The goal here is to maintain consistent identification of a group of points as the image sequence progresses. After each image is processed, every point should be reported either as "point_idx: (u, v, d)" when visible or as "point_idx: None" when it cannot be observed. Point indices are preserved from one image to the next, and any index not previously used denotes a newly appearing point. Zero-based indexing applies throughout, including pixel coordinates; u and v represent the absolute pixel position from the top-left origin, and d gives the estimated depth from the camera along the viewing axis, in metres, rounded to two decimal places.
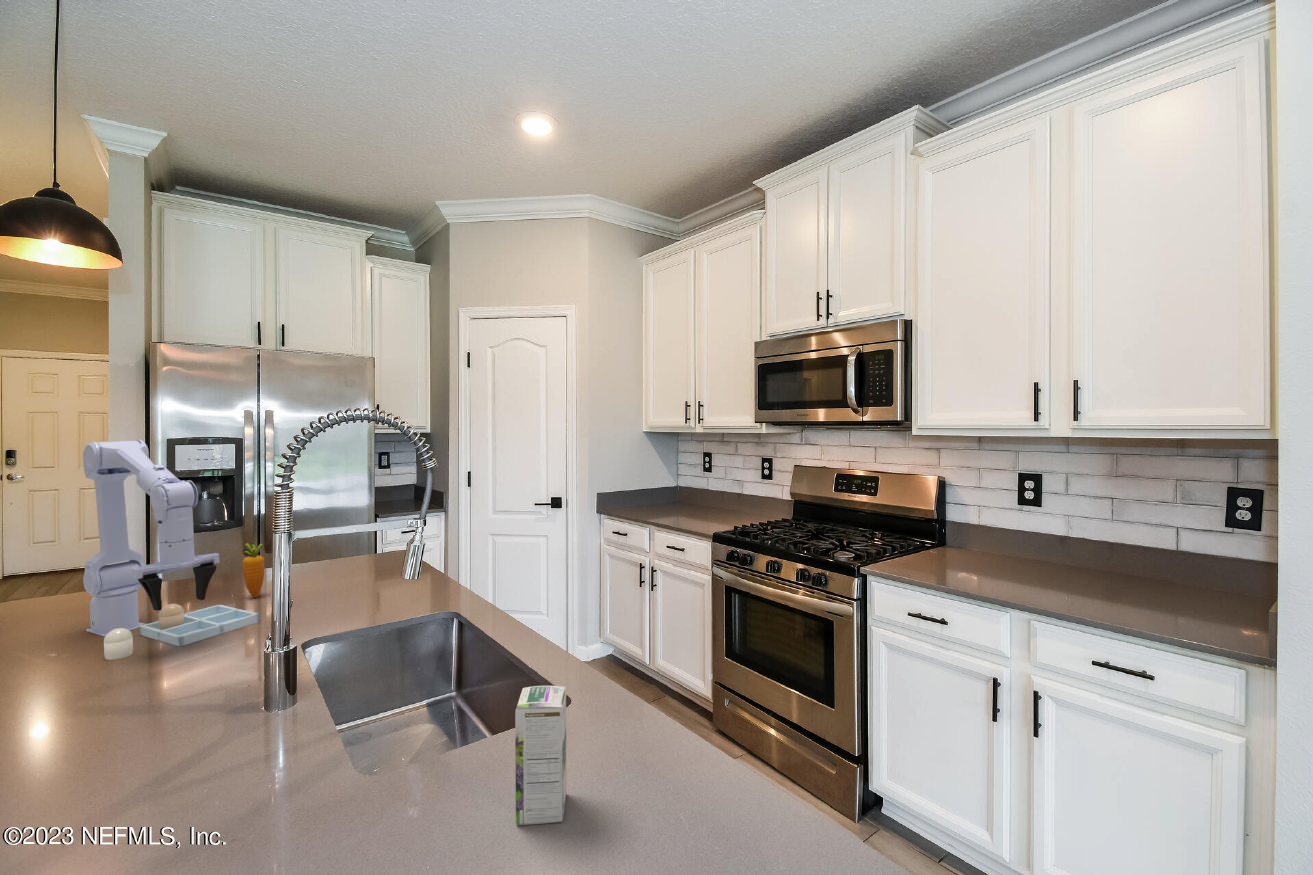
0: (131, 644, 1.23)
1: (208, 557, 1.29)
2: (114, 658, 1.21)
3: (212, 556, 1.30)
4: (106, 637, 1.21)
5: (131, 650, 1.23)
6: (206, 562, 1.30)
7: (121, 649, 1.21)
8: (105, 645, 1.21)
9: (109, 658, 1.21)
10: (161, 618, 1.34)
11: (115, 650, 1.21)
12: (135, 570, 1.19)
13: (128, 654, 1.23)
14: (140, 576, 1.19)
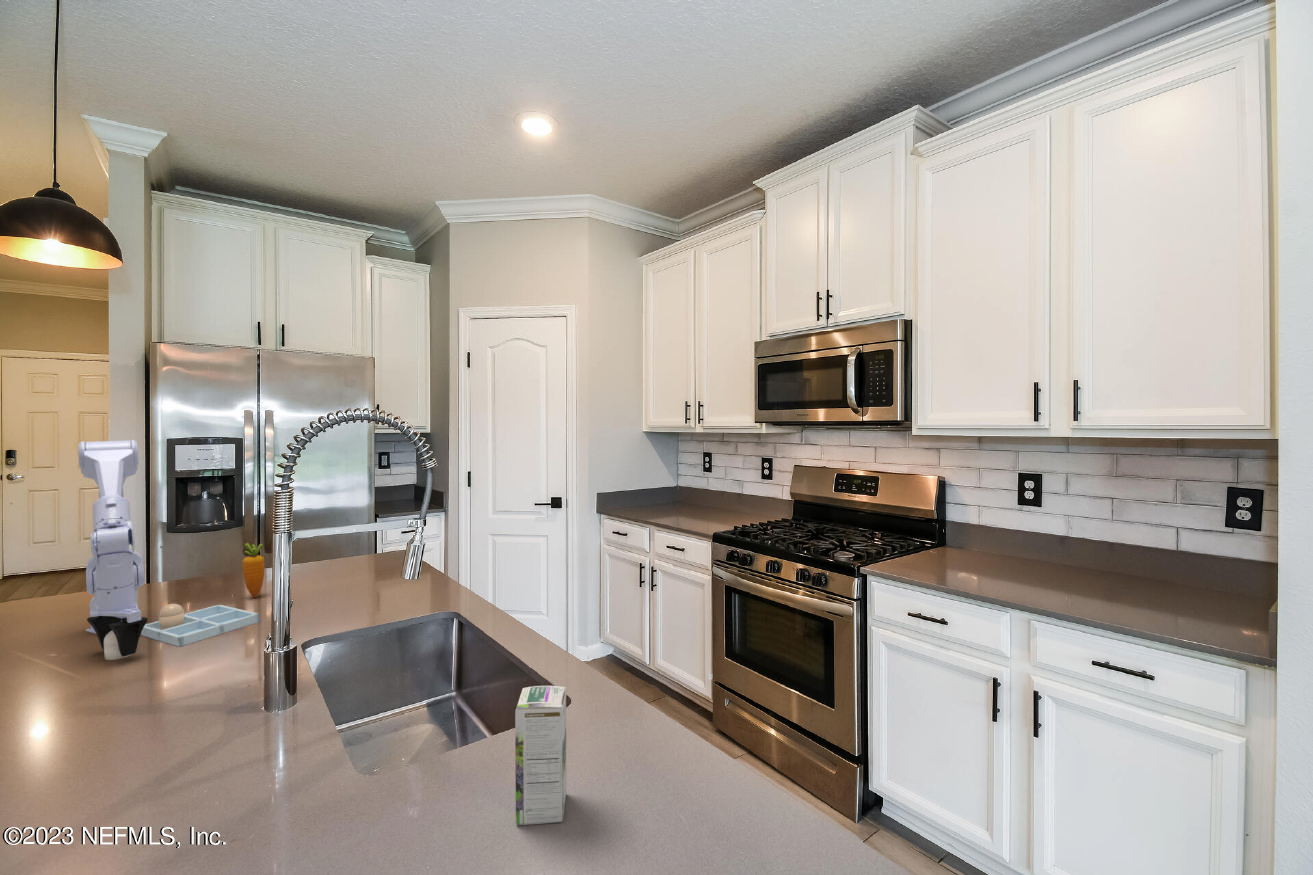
0: None
1: (120, 613, 1.19)
2: (114, 658, 1.21)
3: (124, 613, 1.19)
4: (106, 637, 1.21)
5: None
6: (126, 618, 1.20)
7: None
8: (105, 645, 1.21)
9: (109, 658, 1.21)
10: (161, 618, 1.34)
11: (115, 650, 1.21)
12: None
13: None
14: (94, 611, 1.24)
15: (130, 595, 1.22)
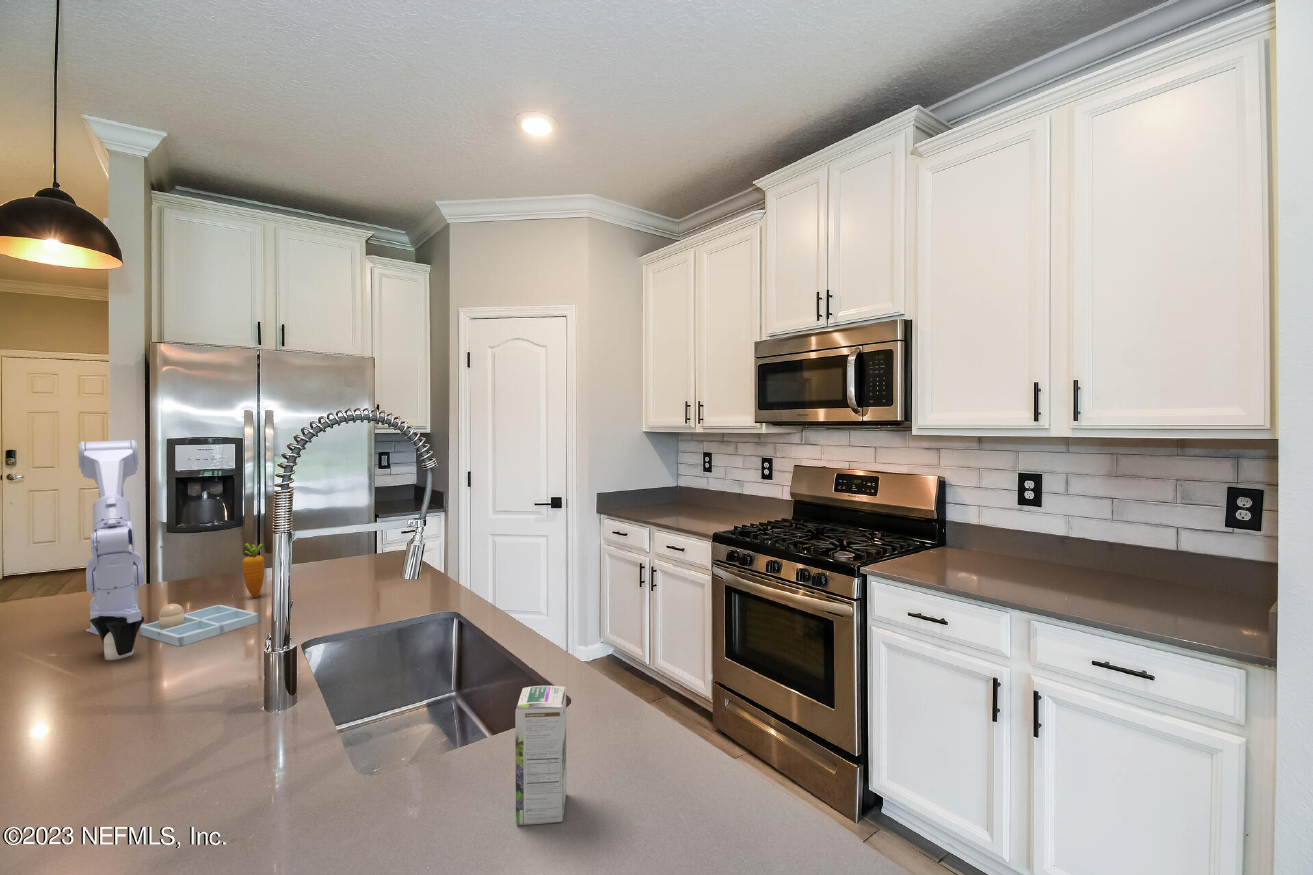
0: None
1: (120, 613, 1.19)
2: (114, 658, 1.21)
3: (124, 614, 1.19)
4: (106, 637, 1.21)
5: None
6: (126, 618, 1.20)
7: None
8: (105, 645, 1.21)
9: (109, 658, 1.21)
10: (161, 618, 1.34)
11: (115, 650, 1.21)
12: None
13: (128, 654, 1.23)
14: (94, 611, 1.24)
15: (130, 595, 1.22)
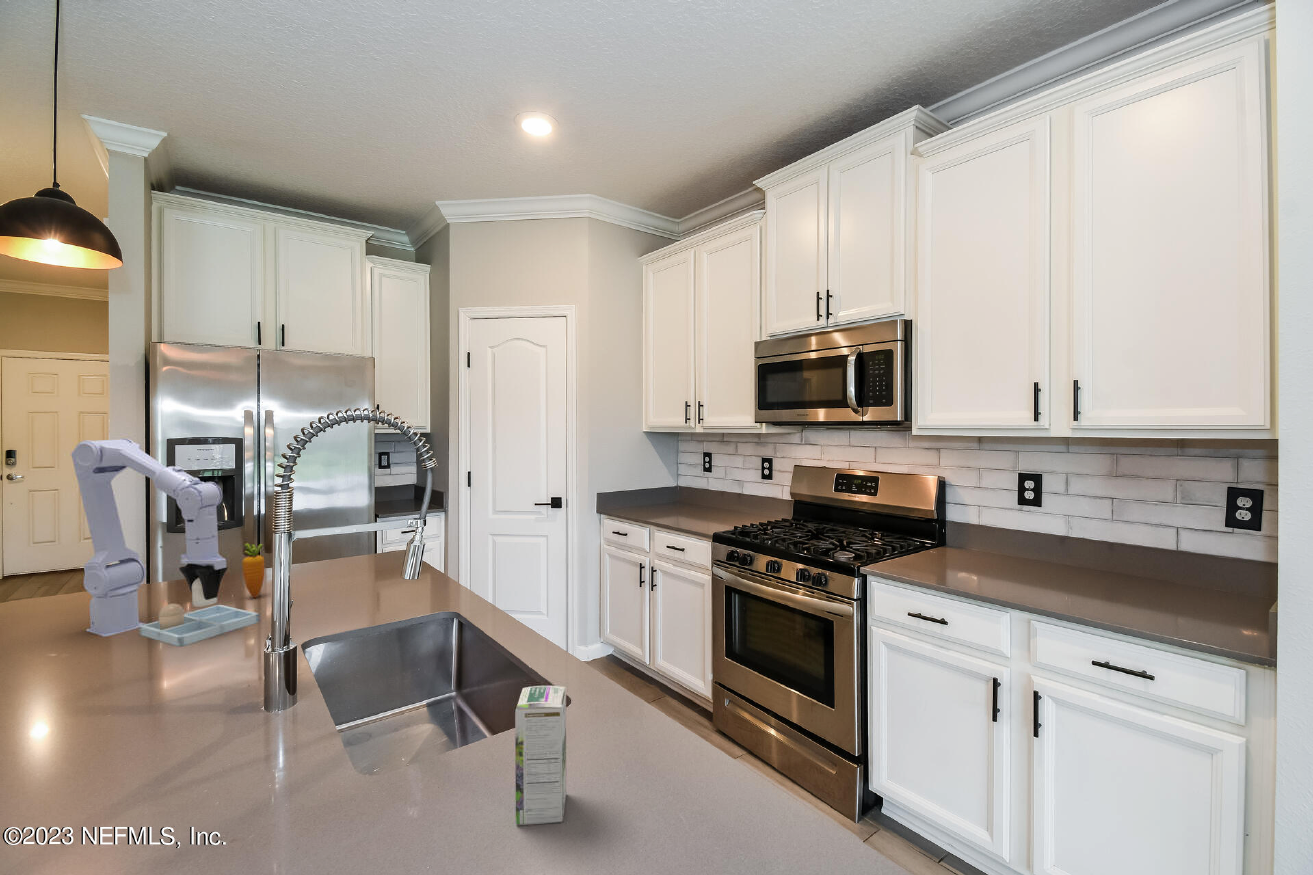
0: None
1: (208, 561, 1.32)
2: (201, 602, 1.33)
3: (212, 561, 1.31)
4: (194, 583, 1.33)
5: None
6: (213, 565, 1.32)
7: None
8: (193, 590, 1.33)
9: (197, 602, 1.33)
10: (161, 618, 1.34)
11: (202, 595, 1.33)
12: None
13: (213, 599, 1.35)
14: None
15: (215, 546, 1.35)
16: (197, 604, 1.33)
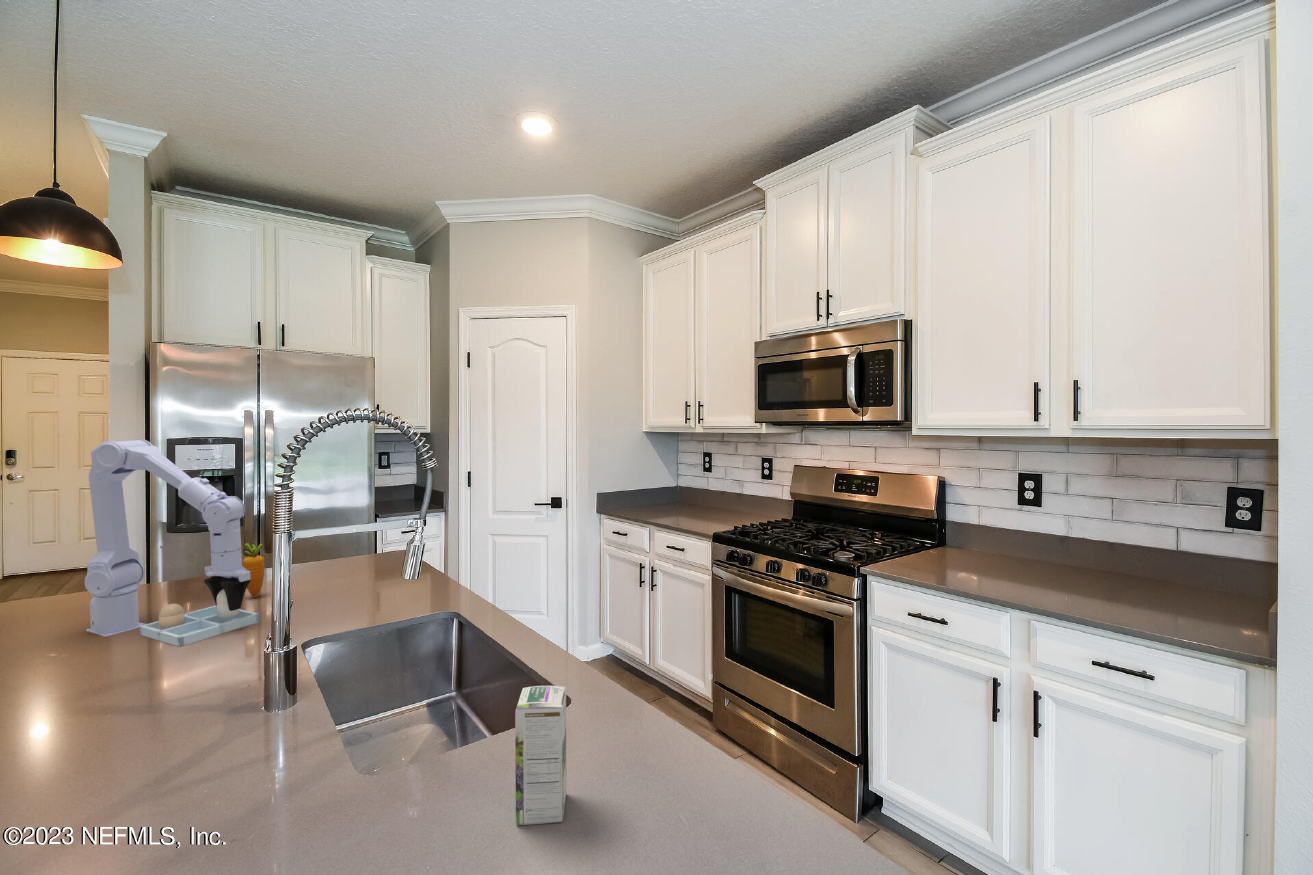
0: None
1: (233, 573, 1.36)
2: (226, 613, 1.38)
3: (236, 573, 1.36)
4: (219, 595, 1.38)
5: None
6: (237, 577, 1.37)
7: None
8: (218, 601, 1.37)
9: (222, 613, 1.37)
10: (161, 618, 1.34)
11: (227, 606, 1.38)
12: None
13: (237, 610, 1.39)
14: (206, 573, 1.41)
15: (239, 558, 1.39)
16: (222, 615, 1.37)
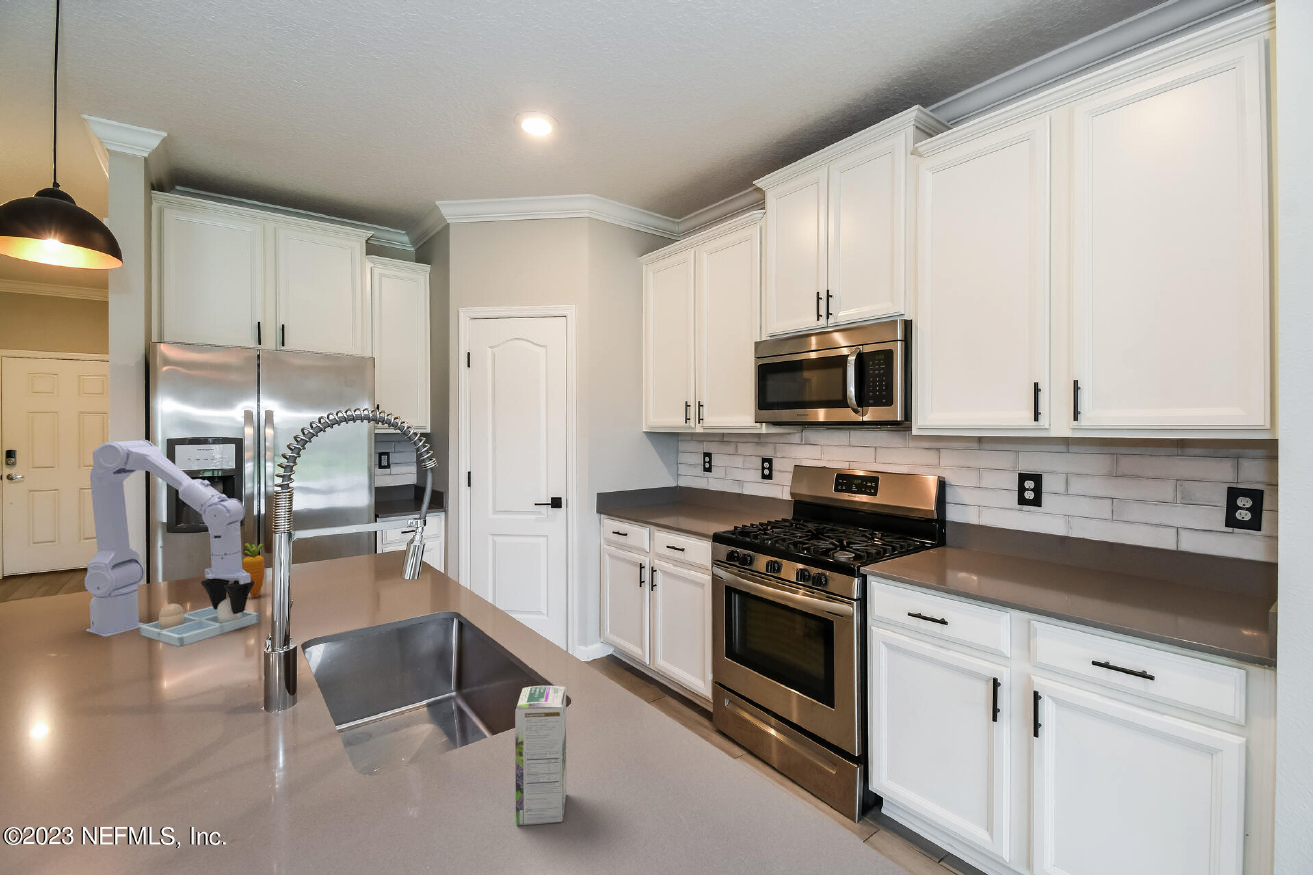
0: None
1: (233, 576, 1.36)
2: None
3: (237, 576, 1.36)
4: (219, 606, 1.38)
5: None
6: (237, 580, 1.37)
7: (232, 616, 1.38)
8: (219, 612, 1.38)
9: None
10: (161, 618, 1.34)
11: (227, 617, 1.38)
12: None
13: None
14: (206, 575, 1.41)
15: (239, 560, 1.39)
16: None
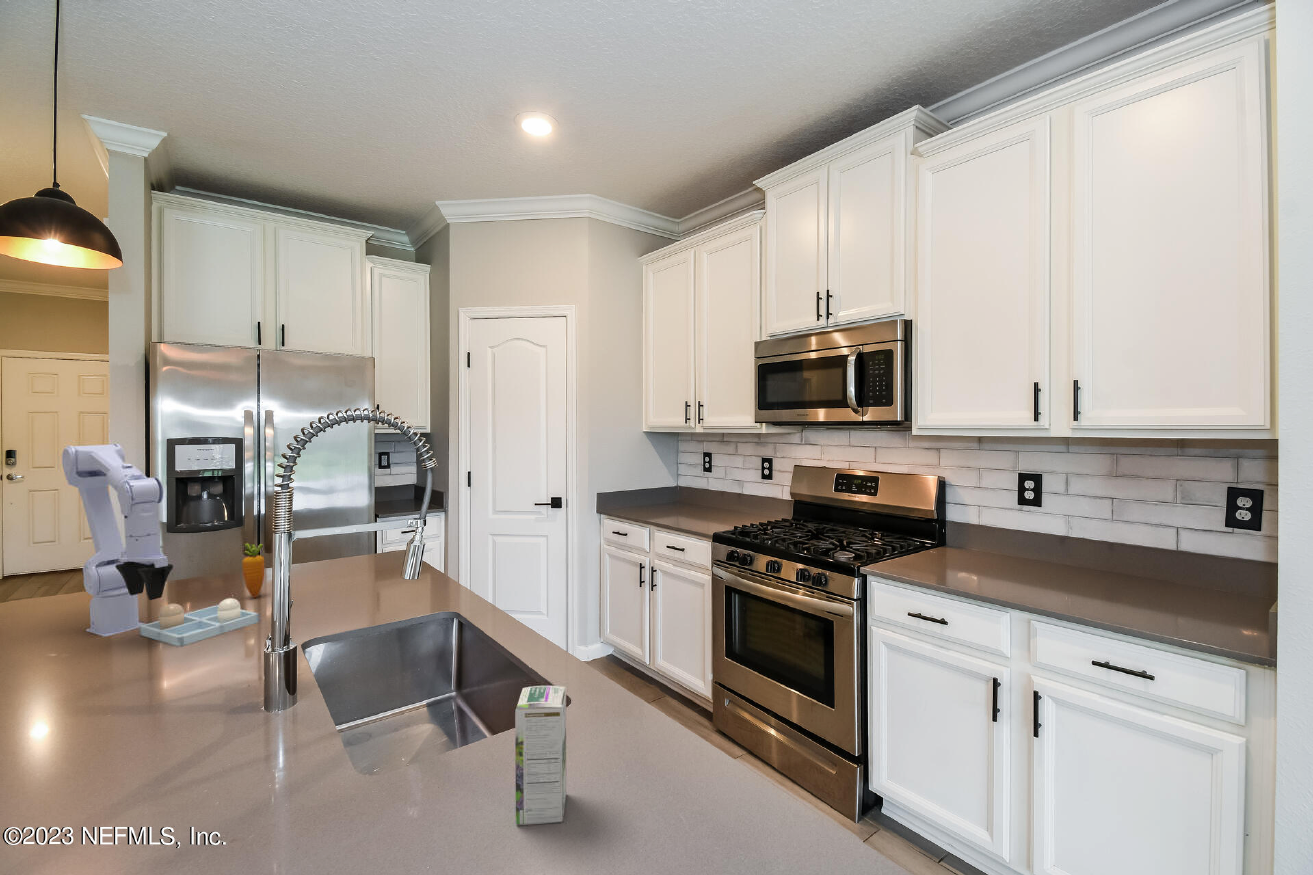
0: (239, 612, 1.40)
1: (148, 559, 1.27)
2: None
3: (152, 559, 1.27)
4: (219, 606, 1.38)
5: None
6: (153, 563, 1.28)
7: (232, 616, 1.38)
8: (219, 612, 1.38)
9: None
10: (161, 618, 1.34)
11: (227, 617, 1.38)
12: None
13: None
14: None
15: (156, 543, 1.30)
16: None
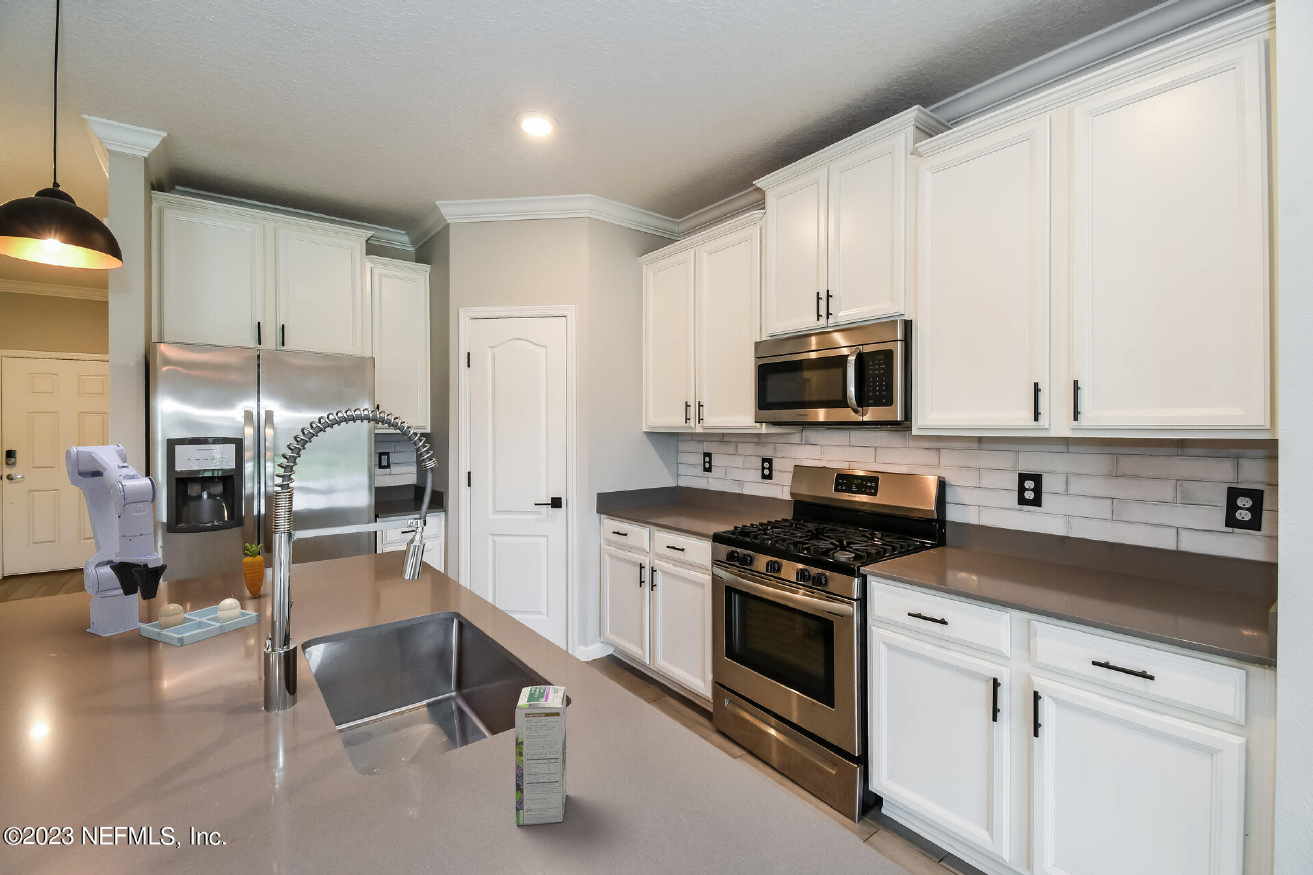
0: (239, 612, 1.40)
1: (142, 559, 1.26)
2: None
3: (145, 559, 1.26)
4: (219, 606, 1.38)
5: None
6: (147, 563, 1.27)
7: (232, 616, 1.38)
8: (219, 612, 1.38)
9: None
10: (161, 618, 1.34)
11: (227, 617, 1.38)
12: None
13: None
14: None
15: (150, 543, 1.29)
16: None
